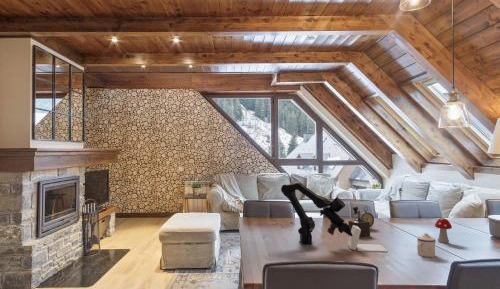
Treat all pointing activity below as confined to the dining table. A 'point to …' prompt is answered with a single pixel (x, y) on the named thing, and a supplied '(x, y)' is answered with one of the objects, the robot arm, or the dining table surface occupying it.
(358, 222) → the dark brown boxy piece
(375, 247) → the mat
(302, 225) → the robot arm
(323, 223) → the dining table surface
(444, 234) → the decorative mushroom
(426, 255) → the teacup with lid
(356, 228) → the beige rectangular block
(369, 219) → the alarm clock
